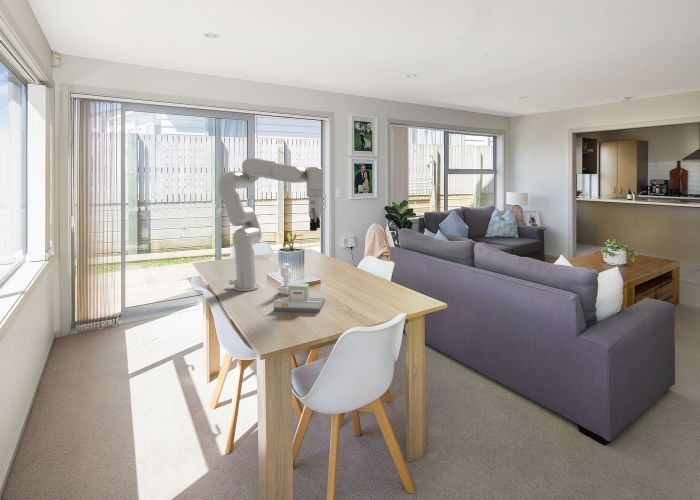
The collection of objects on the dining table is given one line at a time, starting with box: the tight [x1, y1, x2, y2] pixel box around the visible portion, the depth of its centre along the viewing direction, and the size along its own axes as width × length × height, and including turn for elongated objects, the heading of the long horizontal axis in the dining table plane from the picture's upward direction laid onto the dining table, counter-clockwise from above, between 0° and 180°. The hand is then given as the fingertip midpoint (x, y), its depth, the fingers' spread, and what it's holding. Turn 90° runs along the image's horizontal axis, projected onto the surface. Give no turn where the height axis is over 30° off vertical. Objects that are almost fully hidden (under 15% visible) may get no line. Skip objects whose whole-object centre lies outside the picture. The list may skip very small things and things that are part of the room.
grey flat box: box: [273, 296, 326, 313], centre depth 187 cm, size 20×16×4 cm
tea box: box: [288, 282, 310, 301], centre depth 183 cm, size 8×5×9 cm, turn 85°
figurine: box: [277, 263, 293, 296], centre depth 206 cm, size 7×9×15 cm
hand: (315, 229), depth 200 cm, fingers open, 9 cm apart
